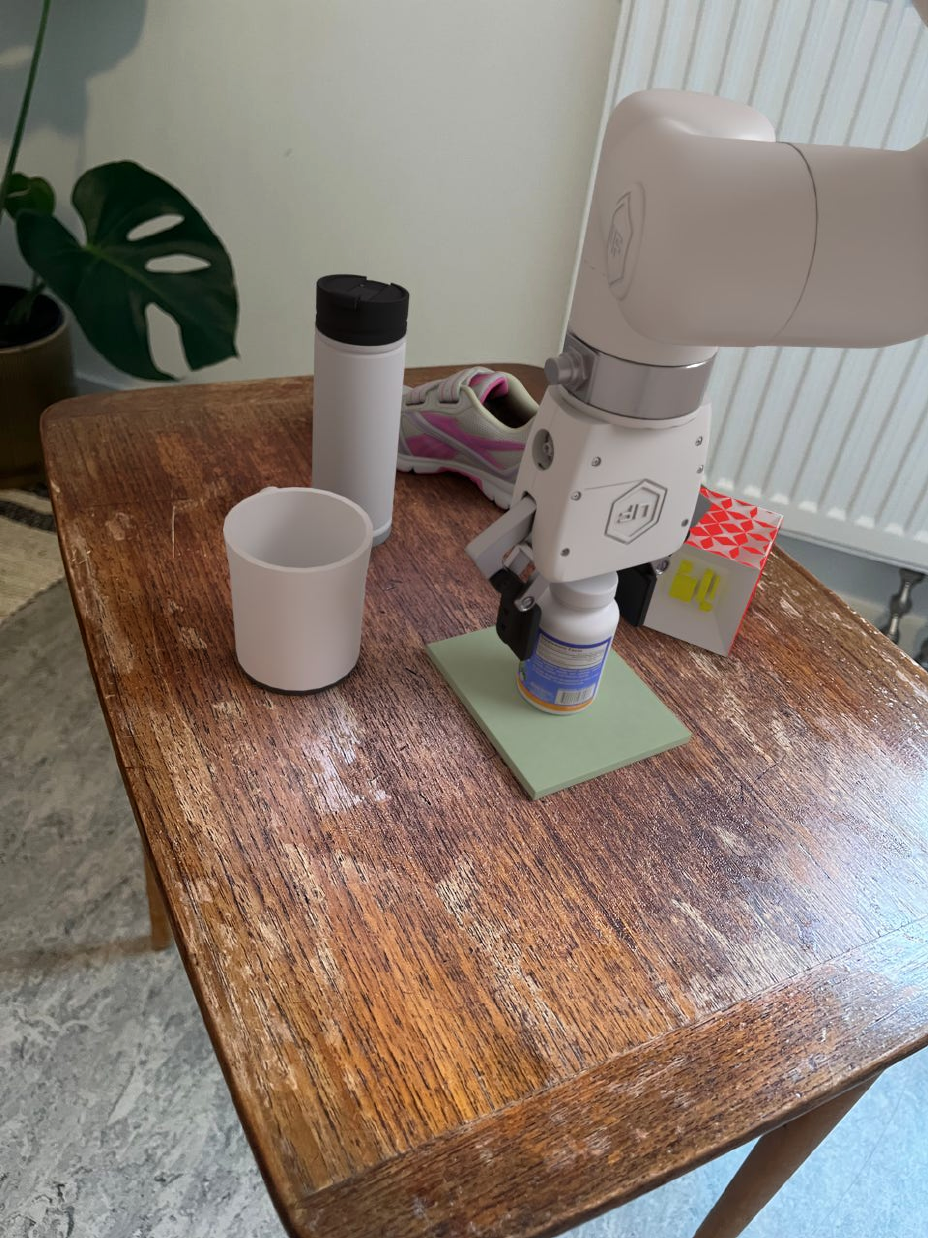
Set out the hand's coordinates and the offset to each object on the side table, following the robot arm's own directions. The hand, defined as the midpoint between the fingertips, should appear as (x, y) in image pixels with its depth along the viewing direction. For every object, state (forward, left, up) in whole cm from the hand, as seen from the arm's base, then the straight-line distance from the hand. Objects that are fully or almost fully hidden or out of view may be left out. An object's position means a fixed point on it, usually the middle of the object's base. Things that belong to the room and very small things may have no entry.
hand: (570, 628), depth 60 cm
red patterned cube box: (+4, -15, -6) cm, 17 cm away
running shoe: (+28, -8, -6) cm, 30 cm away
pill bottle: (0, 0, -5) cm, 5 cm away
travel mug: (+22, +5, -6) cm, 23 cm away
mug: (+11, +14, -6) cm, 19 cm away
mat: (0, 0, -6) cm, 6 cm away
